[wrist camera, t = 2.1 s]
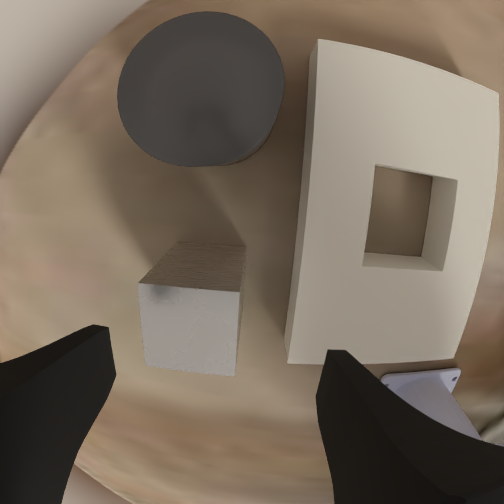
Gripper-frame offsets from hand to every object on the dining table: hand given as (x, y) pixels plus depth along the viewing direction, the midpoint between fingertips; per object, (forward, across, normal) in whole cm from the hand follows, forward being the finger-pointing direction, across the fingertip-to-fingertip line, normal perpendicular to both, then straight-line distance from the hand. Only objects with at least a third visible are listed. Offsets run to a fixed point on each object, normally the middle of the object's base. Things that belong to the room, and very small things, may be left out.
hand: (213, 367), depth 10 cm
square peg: (+10, +2, +1) cm, 10 cm away
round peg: (+10, +2, -9) cm, 14 cm away
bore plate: (+10, -10, -4) cm, 15 cm away
